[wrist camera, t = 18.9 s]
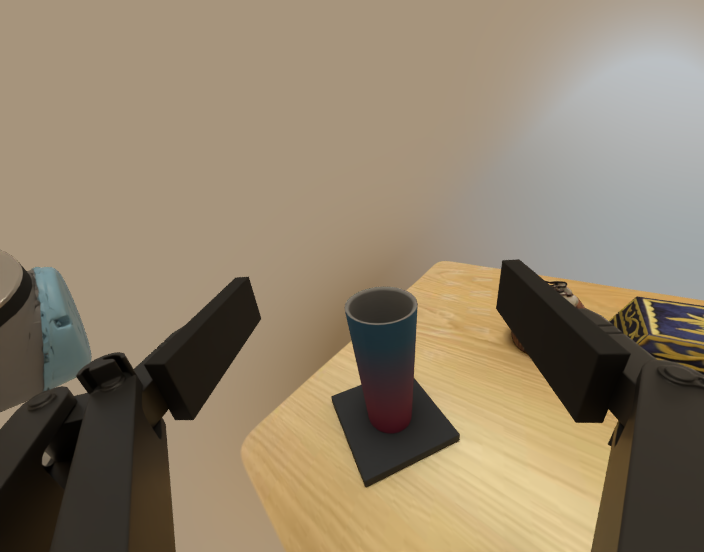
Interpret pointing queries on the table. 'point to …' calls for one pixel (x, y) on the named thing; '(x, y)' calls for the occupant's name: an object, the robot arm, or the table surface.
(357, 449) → the mat
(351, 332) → the cup
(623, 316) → the decorative box
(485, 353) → the table surface
